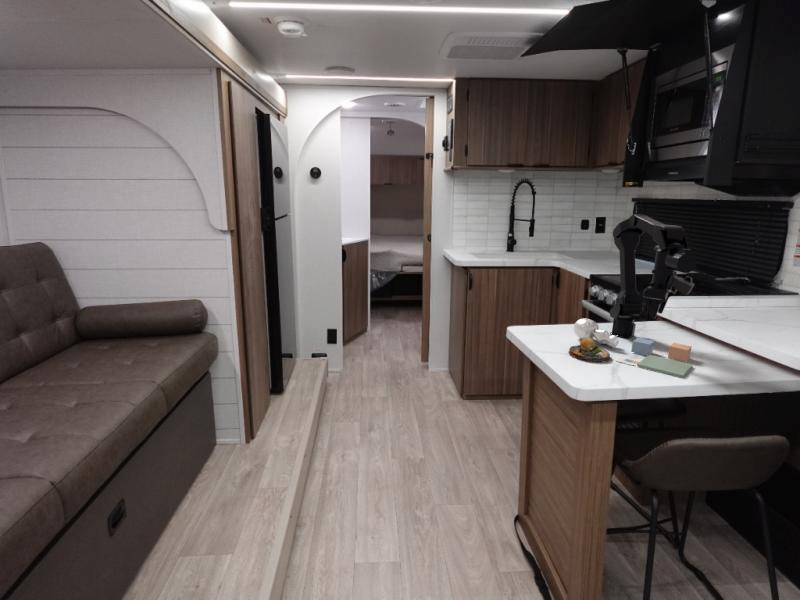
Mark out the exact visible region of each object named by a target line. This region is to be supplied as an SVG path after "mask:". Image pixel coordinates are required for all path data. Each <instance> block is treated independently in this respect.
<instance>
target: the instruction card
mask: <svg viewBox="0 0 800 600" xmlns="http://www.w3.org/2000/svg"><path fill="white" fill-rule="evenodd" d="M616 361H618V363H620V362H622V363H621V364H624V363H626V364H625V365H628V364H630V365H629V366H632V365H634V366H633V367H636V366H637V364H638V363H639V362H641V361H642V360H639V359H636V358H632V357H628V356H624V357H623V356H621V357H620V358H618V359H617V360H616ZM635 365H636V366H635ZM637 368H640V367H639V366H638V367H637ZM641 369H644V368H643V367H642V368H641Z"/></svg>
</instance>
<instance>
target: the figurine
mask: <svg viewBox="0 0 800 600" xmlns="http://www.w3.org/2000/svg"><path fill="white" fill-rule="evenodd" d="M599 328H600V327H599V324H598V323H597V322H596V321H594V320H592V319H590V318H586V317H585V318H584V317H582V318H580V319H577V321H575V323H574V325H573V331H574V334H575V335H576V337H578V338H579V339H581V340H582V339H584V338H591V339H592V340H594V339H595V340H596V341H597V343H598V344H599V345H601V344H602V345H605V344H607V345H606V346H608V347H610V348H612V349H615V348H616V347H617V346H619V344H620V340H618V336H615V335H610V333H609V332H608V331H607V330H605V329H599ZM585 335H586V336H585ZM593 338H594V339H593Z"/></svg>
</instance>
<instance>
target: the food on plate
mask: <svg viewBox="0 0 800 600" xmlns="http://www.w3.org/2000/svg"><path fill="white" fill-rule="evenodd" d="M585 336H586V335H585ZM568 354H569V356H570V357H573V358H574V359H575V360H579V361H582V362H589V363H597V364H599V363H600V364H601V363H605V362H609V360H610V356H611V354H610V352H609V351H608V350H605V349H603V348H601V346H597V345H596V342H595V340H594V339H591V338H584V339H581V340H580V343H579V344H578V345H572V346H570V347H569V351H568ZM604 361H605V362H604Z"/></svg>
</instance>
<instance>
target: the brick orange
mask: <svg viewBox="0 0 800 600" xmlns="http://www.w3.org/2000/svg"><path fill="white" fill-rule="evenodd" d="M691 351H692V346H690V345H686V344H681V343H677V342H673V343H672V344H671V345H670V346H669V349H668V355H667V359H671V360H675V361H680V362H684V363H687V361H689V359H690V358H691V353H692V352H691Z"/></svg>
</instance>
